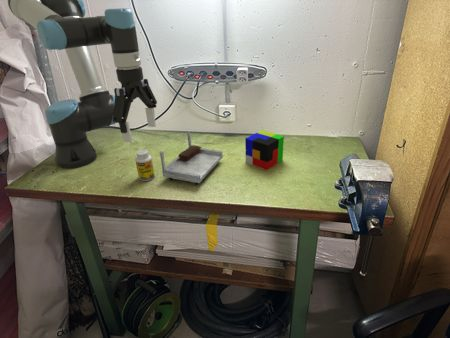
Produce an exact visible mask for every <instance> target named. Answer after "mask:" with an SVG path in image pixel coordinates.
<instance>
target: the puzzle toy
mask: <svg viewBox="0 0 450 338" xmlns="http://www.w3.org/2000/svg"><path fill="white" fill-rule="evenodd" d="M244 139H245V163H246V164H249V165H252V166H255V167H258V168H260V169H263V170H265V171H269V170H270V169H271V168H273V167H274V166H276V165H278V164H279V163H281V162H282V161H283V157H284V156H283V155H284V144H285V143H284V140H285V136H284V135H280V134H276V133H273V132H270V131H266V130H260V131H258V132H255V133H254V134H251V135H249V136H248V137H245V138H244Z"/></svg>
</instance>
